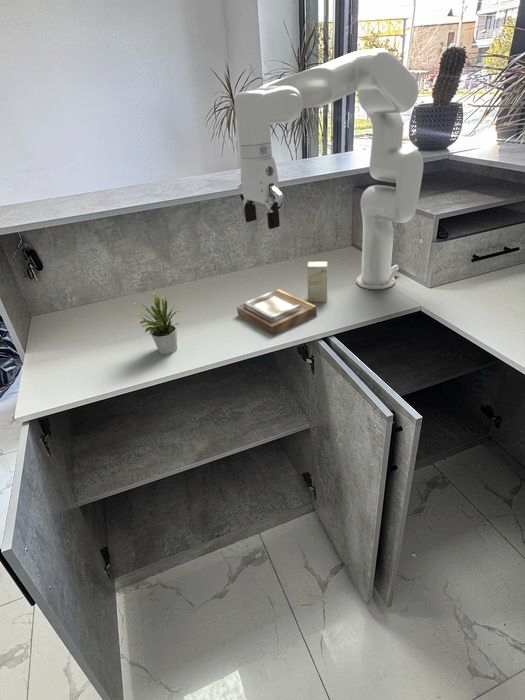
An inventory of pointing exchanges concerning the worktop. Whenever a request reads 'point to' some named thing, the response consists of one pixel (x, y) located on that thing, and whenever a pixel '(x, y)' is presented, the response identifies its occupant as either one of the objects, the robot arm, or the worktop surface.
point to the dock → (276, 311)
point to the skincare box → (317, 281)
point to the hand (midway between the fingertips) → (262, 224)
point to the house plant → (161, 326)
